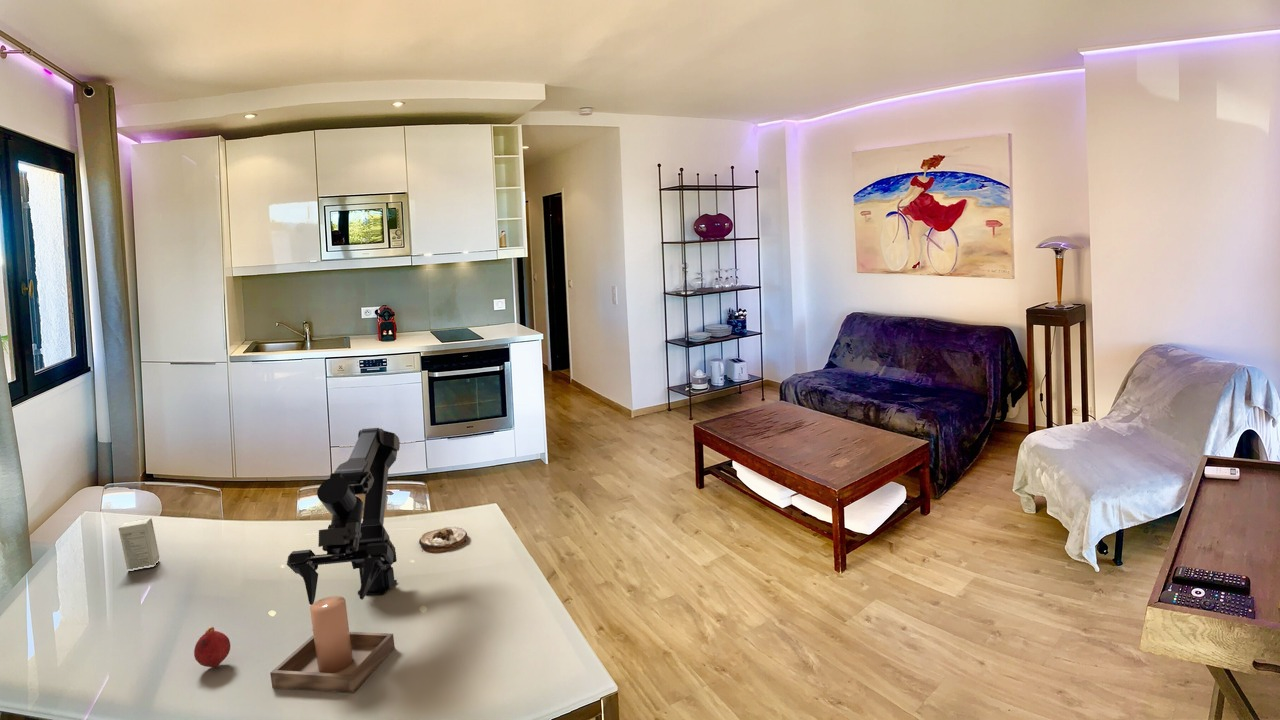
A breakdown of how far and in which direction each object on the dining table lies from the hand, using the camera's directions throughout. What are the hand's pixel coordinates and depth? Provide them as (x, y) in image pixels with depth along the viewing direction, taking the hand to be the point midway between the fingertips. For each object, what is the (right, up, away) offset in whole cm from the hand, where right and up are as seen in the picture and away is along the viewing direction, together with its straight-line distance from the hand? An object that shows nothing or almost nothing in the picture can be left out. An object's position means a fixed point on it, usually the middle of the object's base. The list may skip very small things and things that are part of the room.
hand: (336, 601), depth 131 cm
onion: (-23, -12, 0) cm, 26 cm away
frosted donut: (+5, -3, +53) cm, 53 cm away
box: (+1, -11, -3) cm, 12 cm away
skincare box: (-71, -8, +47) cm, 85 cm away
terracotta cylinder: (+1, -11, -3) cm, 11 cm away
